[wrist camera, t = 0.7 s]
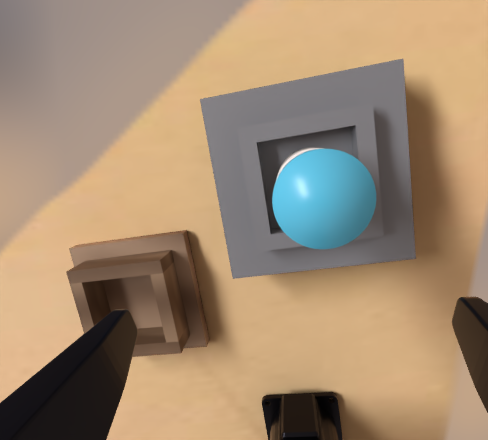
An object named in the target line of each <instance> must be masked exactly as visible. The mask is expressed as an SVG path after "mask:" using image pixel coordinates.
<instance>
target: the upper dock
mask: <svg viewBox="0 0 488 440" xmlns="http://www.w3.org/2000/svg"><path fill="white" fill-rule="evenodd" d="M200 102H201V108H202V113H203V118H204V124H205V129H206V135H207V140H208V146H209V151H210V157H211V162H212V167H213V173H214V178H215V184H216V189H217V195H218V200H219V206H220V211H221V217H222V222H223V227H224V233H225V238H226V244H227V249H228V255H229V260H230V266H231V271H232V276H233V279H234V278H243V277H252V276H261V275H271V274H280V273H289V272H298V271H307V270H317V269H326V268H335V267H344V266H354V265H363V264H372V263H381V262H390V261H400V260H409V259H416V254H415V238H414V222H413V206H412V190H411V174H410V158H409V142H408V126H407V110H406V94H405V78H404V62H403V59H399V60H394V61H389V62H384V63H379V64H374V65H369V66H364V67H359V68H354V69H349V70H344V71H339V72H334V73H329V74H324V75H319V76H314V77H309V78H304V79H299V80H294V81H289V82H284V83H279V84H274V85H269V86H264V87H259V88H254V89H249V90H244V91H239V92H234V93H229V94H224V95H219V96H214V97H209V98H204V99H200ZM303 148H324V149H334V150H339V151H343V152H346V153H348V154H350V155H352V156H353V157H355V158H356V159H358V160H359V161H360V162H361V163H362V164H363V165H364V166H365V167H366V168H367V170H368V171H369V173H370V174H371V177H372V179H373V181H374V184H375V189H376V207H375V211H374V214H373V216H372V219H371V221H370V222H369V224H368V226H367V227H366V228H365V230H364V231H363V232H362V233H361V234H360V235H359V236H358V237H356V238H355V239H354V240H352V241H351V242H349V243H347V244H345V245H343V246H340V247H337V248H332V249H313V248H309V247H306V246H303V245H301V244H299V243H297V242H295V241H294V240H292V239H291V238H290V237H288V236H287V235H286V234H285V233H284V232H283V230H282V229H281V227H280V226H279V224H278V222H277V220H276V218H275V215H274V211H273V204H272V197H273V190H274V186H275V183H276V179H277V176H278V172H279V169H280V167H281V165H282V163H283V162H284V160H285V159H286V158H287V157H288V156H289V155H290V154H292V153H293V152H295V151H297V150H300V149H303Z"/></svg>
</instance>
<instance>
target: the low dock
mask: <svg viewBox="0 0 488 440" xmlns="http://www.w3.org/2000/svg"><path fill="white" fill-rule="evenodd" d="M69 250H70V253H71V257H72V260H73V264H74V268H72V269H70V270H69V271H67V276H68V279H69V283H70V286H71V289H72V293H73V296H74V300H75V303H76V307H77V310H78V313H79V317H80V320H81V324H82V327H83V331H84V334H85V333H86V332H87V331H88V330H90V329H91V328H92V327H93V326H94V325H96V324H97V323H98V322H99V321H101V320H102V319H103V318H104V317H105V316H107V315H108V314H109V313H110V312H112V311H113V310H115V309H128V310H129V311H130V313H131V315H132V317H133V320H134V322H135V324H136V326H137V332H138V333H137V339H136V343H135V347H134V351H133V355H132V357H135V356H148V355H162V354H176V353H181V352H182V350H183V348H193V347H206V346H207V344H208V342H209V336H208V331H207V326H206V321H205V316H204V312H203V307H202V302H201V297H200V292H199V287H198V283H197V278H196V273H195V268H194V263H193V258H192V254H191V249H190V244H189V239H188V234H187V230H185V231H177V232H170V233H162V234H155V235H148V236H140V237H133V238H126V239H118V240H111V241H103V242H96V243H89V244H81V245H76V246H74V247H72V248H69Z"/></svg>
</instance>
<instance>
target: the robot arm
mask: <svg viewBox="0 0 488 440" xmlns="http://www.w3.org/2000/svg"><path fill="white" fill-rule="evenodd" d="M452 325H453V329H454V332H455V335H456V337H457V340H458V343H459V345H460V348H461V351H462V353H463V356H464V359H465V362H466V364H467V367H468V370H469V372H470V375H471V378H472V380H473V383H474V385H475V388H476V390H477V392H478V394H479V396H480V398H481V400H482V402H483V404H484V406H485V408H486V410H487V412H488V303H486V302H484V301H483V300H482V299H480V298H478V297H461V298H459V299H458V300H457V303H456V307H455V311H454V315H453V319H452ZM137 333H138V332H137V326H136V324H135V322H134V320H133V317H132V315H131V313H130V311H129V310H128V309H115V310H113V311H112V312H110V313H109V314H108V315H107V316H105V317H104V318H103V319H102V320H101V321H99V322H98V323H97V324H96V325H94V326H93V327H92V328H91V329H90V330H88V331H87V332H86V333H85V334H84V335H82V336H81V337H80V338H79V339H77V340H76V341H75V342H74V343H73V344H71V345H70V346H69V347H68V348H67V349H65V350H64V351H63V352H62V353H60V354H59V355H58V356H57V357H56V358H54V359H53V360H52V361H51V362H49V363H48V364H47V365H46V366H45V367H43V368H42V369H41V370H40V371H39V372H37V373H36V374H35V375H34V376H32V377H31V378H30V379H29V380H28V381H26V382H25V383H24V384H23V385H22V386H20V387H19V388H18V389H17V390H15V391H14V392H13V393H12V394H11V395H9V396H8V397H7V398H6V399H5V400H3V401H2V402H1V403H0V440H106V439H107V436H108V433H109V430H110V427H111V425H112V422H113V419H114V416H115V413H116V410H117V407H118V405H119V402H120V399H121V396H122V393H123V390H124V387H125V383H126V380H127V376H128V372H129V368H130V363H131V359H132V355H133V351H134V347H135V343H136V339H137ZM330 398H333V399H332V400H330ZM266 401H269V403H268V402H266ZM262 407H263V412H264V418H265V424H266V429H267V435H268V440H342V432H341V424H340V416H339V407H338V400H337V396H336V394H335V393H333V392H323V393H303V394H283V395H266V396H264V397H263V398H262Z"/></svg>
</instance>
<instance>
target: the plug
mask: <svg viewBox="0 0 488 440" xmlns="http://www.w3.org/2000/svg"><path fill="white" fill-rule="evenodd" d="M272 204H273V211H274V215H275V218H276V220H277V222H278V224H279V226H280V227H281V229H282V230H283V232H284V233H285V234H286V235H287V236H288V237H290V238H291V239H292V240H294V241H295V242H297V243H299V244H301V245H303V246H306V247H309V248H313V249H332V248H337V247H340V246H343V245H345V244H347V243H349V242H351V241H352V240H354V239H355V238H356V237H358V236H359V235H360V234H361V233H362V232H363V231H364V230H365V228H366V227H367V226H368V224H369V222H370V221H371V219H372V216H373V214H374V211H375V207H376V189H375V184H374V181H373V179H372V177H371V174H370V173H369V171H368V170H367V168H366V167H365V166H364V165H363V164H362V163H361V162H360V161H359V160H358V159H356V158H355V157H353V156H352V155H350V154H348V153H346V152H343V151H339V150H334V149H324V148H303V149H300V150H297V151H295V152H293V153H292V154H290V155H289V156H288V157H287V158H286V159H285V160H284V162H283V163H282V165H281V167H280V169H279V172H278V176H277V179H276V183H275V186H274V190H273V197H272Z"/></svg>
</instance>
